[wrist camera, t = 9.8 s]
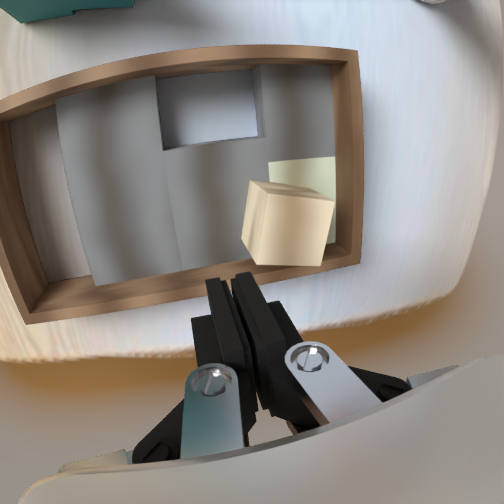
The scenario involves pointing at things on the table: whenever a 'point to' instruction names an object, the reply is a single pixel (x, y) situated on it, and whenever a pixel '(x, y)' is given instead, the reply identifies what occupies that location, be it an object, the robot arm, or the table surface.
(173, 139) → the table surface
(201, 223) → the box
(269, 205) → the block
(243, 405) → the robot arm
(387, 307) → the table surface
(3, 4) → the teal l-shaped bracket
